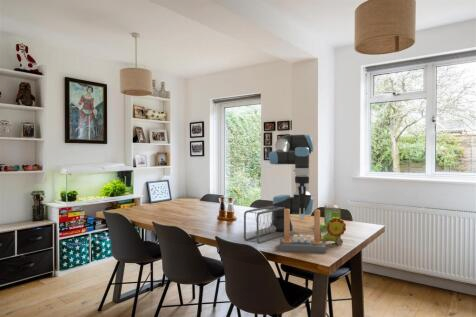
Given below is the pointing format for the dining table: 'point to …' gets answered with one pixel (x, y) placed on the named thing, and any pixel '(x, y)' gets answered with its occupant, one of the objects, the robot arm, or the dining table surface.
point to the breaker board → (302, 247)
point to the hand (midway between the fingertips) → (301, 219)
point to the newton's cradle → (265, 230)
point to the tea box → (331, 212)
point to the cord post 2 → (317, 228)
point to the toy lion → (333, 230)
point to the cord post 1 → (287, 227)
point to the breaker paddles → (302, 239)
